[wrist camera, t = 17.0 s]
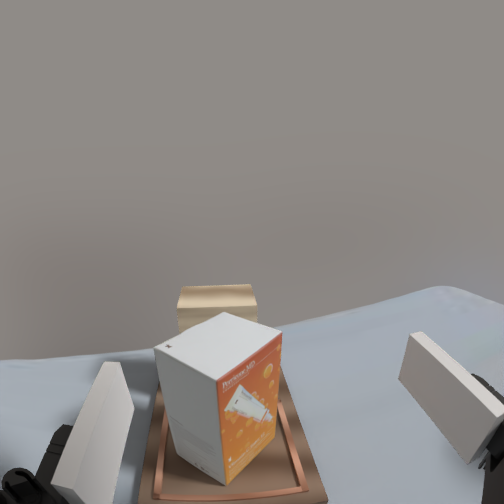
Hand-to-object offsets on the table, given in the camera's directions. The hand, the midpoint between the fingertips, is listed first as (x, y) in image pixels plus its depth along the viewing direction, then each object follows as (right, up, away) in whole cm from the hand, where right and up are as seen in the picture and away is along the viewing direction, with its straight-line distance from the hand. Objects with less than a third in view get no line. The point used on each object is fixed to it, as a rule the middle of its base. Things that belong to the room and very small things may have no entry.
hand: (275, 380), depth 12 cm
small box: (-3, -14, +13) cm, 19 cm away
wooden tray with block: (-4, -14, +17) cm, 22 cm away
